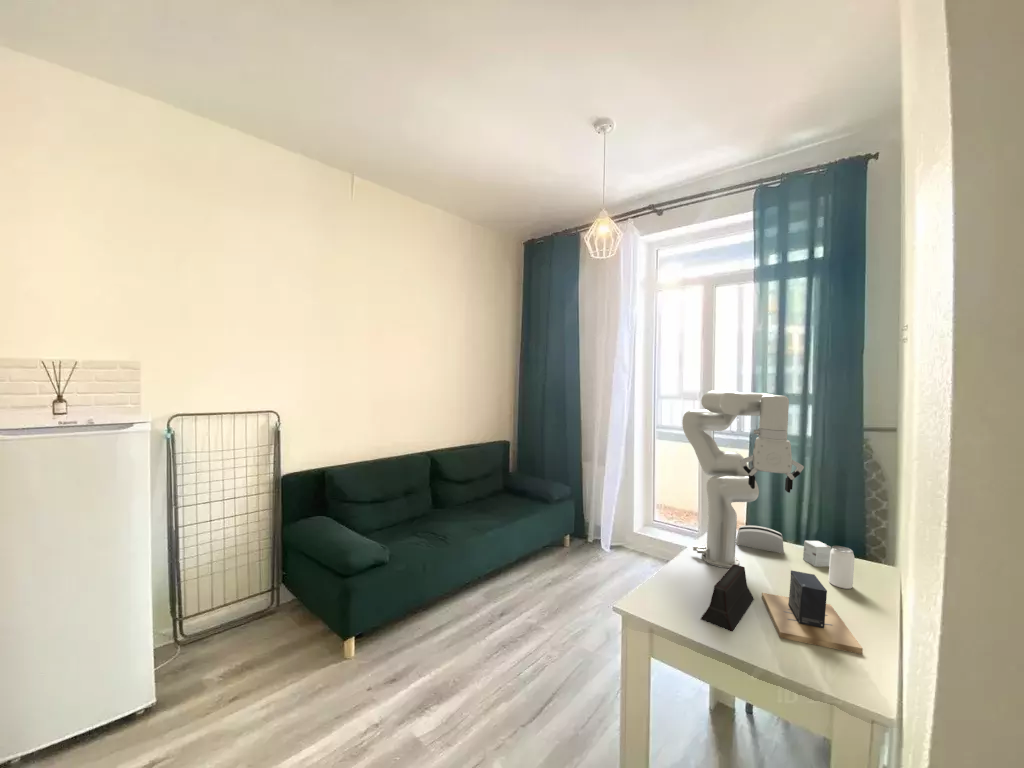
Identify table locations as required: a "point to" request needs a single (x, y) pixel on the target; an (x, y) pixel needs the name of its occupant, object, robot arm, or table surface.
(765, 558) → the table surface
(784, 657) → the table surface
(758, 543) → the white arched block
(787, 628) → the board
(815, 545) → the skincare box
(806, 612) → the small box
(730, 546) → the robot arm
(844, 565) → the can
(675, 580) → the table surface
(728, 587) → the barrier
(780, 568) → the table surface
